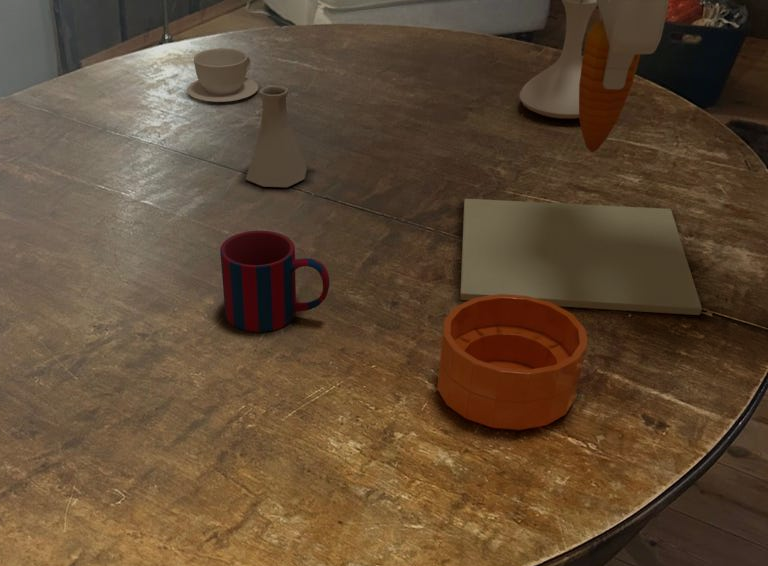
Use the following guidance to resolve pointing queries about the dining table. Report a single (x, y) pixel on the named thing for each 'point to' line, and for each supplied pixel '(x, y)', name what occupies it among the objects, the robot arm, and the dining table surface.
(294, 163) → the flask
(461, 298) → the mat
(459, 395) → the bowl
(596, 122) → the carrot
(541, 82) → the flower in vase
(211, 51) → the teacup
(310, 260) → the cup
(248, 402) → the dining table surface
